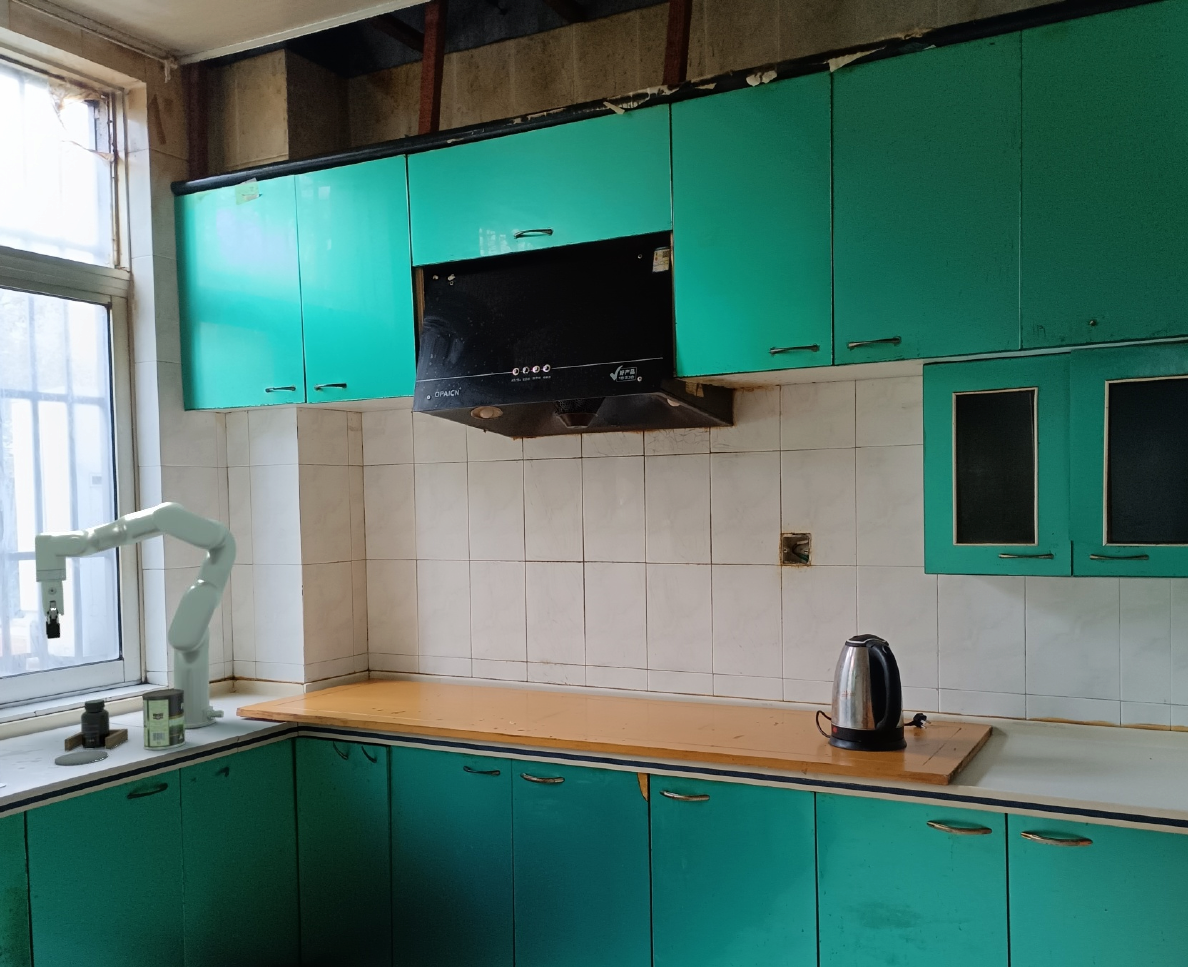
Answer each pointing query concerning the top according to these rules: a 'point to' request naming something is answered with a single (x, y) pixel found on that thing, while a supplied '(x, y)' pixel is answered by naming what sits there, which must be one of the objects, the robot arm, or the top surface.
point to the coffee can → (163, 719)
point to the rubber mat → (80, 757)
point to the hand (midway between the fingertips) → (53, 636)
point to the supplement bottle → (94, 724)
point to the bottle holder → (110, 742)
